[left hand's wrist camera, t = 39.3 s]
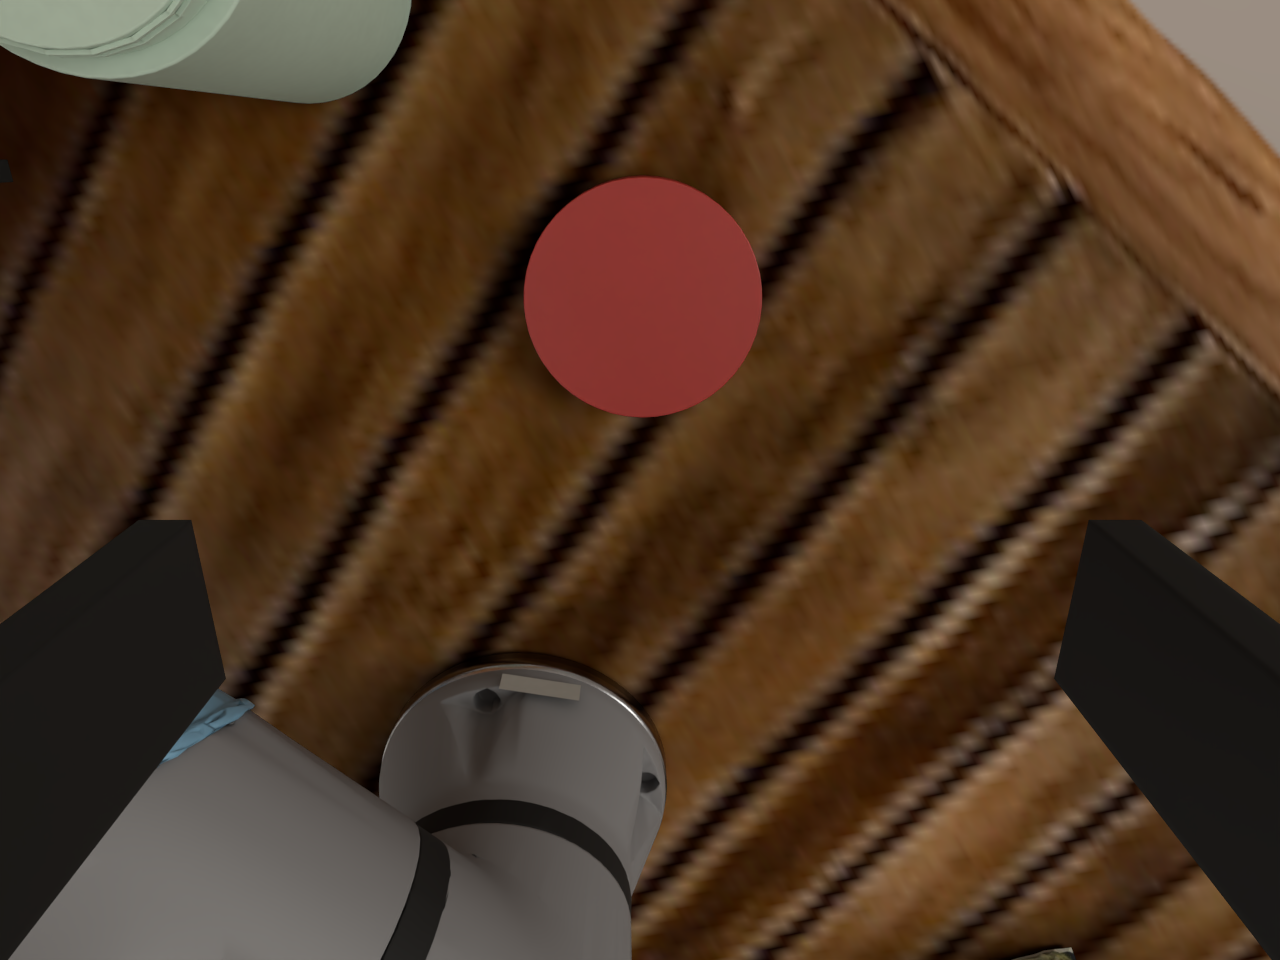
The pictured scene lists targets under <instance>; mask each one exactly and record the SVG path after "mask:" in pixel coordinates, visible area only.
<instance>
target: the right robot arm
mask: <svg viewBox="0 0 1280 960" xmlns="http://www.w3.org/2000/svg"><path fill="white" fill-rule="evenodd" d="M2 182H13V179H12V175H11V172H10V168H9V164H8V160H0V183H2Z"/></svg>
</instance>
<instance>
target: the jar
mask: <svg viewBox="0 0 1280 960" xmlns="http://www.w3.org/2000/svg"><path fill="white" fill-rule="evenodd" d="M410 8H411V0H0V45H1V46H2V47H4V48H6V49H7V50H9V51H10V52H12V53H14V54H16V55H18V56H20V57H22V58H24V59H26V60H29V61H31V62H33V63H35V64H37V65H40V66H43V67H46V68H49V69H52V70H55V71H57V72H60V73H64V74H69V75H74V76H79V77H84V78H91V79H99V80H108V81H116V82H125V83H133V84H142V85H150V86H159V87H167V88H175V89H184V90H192V91H201V92H209V93H218V94H226V95H235V96H243V97H252V98H260V99H269V100H277V101H286V102H295V103H322V102H328V101H332V100H337V99H340V98H342V97H345V96H347V95H350V94H352V93H354V92H356V91H357V90H359V89H361V88H363V87H364V86H366V85H367V84H368V83H369V82H371V81H372V80H373V79H374V78H375V77H377V75H378V74H379V73H380V72H381V71H382V70H383V69H384V68H385V67H386V65H387V64H388V63H389V61H390V60H391V58H392V57H393V55H394V54H395V52H396V50H397V48H398V46H399V44H400V42H401V40H402V37H403V35H404V32H405V29H406V26H407V22H408V18H409V13H410Z"/></svg>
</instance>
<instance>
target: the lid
mask: <svg viewBox="0 0 1280 960" xmlns="http://www.w3.org/2000/svg"><path fill="white" fill-rule="evenodd" d="M761 307H762V286H761V279H760V272H759V268H758V265H757V261H756V257H755V255H754V253H753V250H752V248H751V246H750V243H749V241H748V240H747V238H746V236H745V235H744V233H743V231H742V229H741V228H740V227H739V225H738V224H737V223H736V222H735V220H734V219H733V218H732V217H731V215H729V214H728V213H727V212H726V211H725V210H724V209H723V208H722V207H721V206H720V205H719V204H718V203H716V202H715V201H714V200H712V199H711V198H710V197H708V196H707V195H706V194H704V193H703V192H701V191H699V190H697V189H695V188H693V187H692V186H690V185H687V184H684V183H682V182H679V181H676V180H673V179H668V178H664V177H659V176H646V175H641V176H627V177H622V178H617V179H612V180H610V181H607V182H604V183H601V184H598V185H596V186H594V187H592V188H590V189H588V190H587V191H585V192H583V193H582V194H580V195H579V196H577V197H576V198H574V199H573V200H572V201H570V202H569V203H568V204H567V205H566V206H565V207H564V208H563V209H562V210H560V211H559V212H558V213H557V214H556V215H555V217H554V218H553V219H552V220H551V221H550V223H549V224H548V225H547V226H546V228H545V229H544V231H543V233H542V234H541V236H540V237H539V239H538V241H537V243H536V245H535V247H534V250H533V252H532V254H531V257H530V260H529V264H528V267H527V271H526V276H525V283H524V311H525V319H526V323H527V327H528V331H529V335H530V337H531V340H532V342H533V345H534V348H535V350H536V351H537V353H538V355H539V357H540V359H541V361H542V362H543V364H544V365H545V366H546V368H547V369H548V371H549V372H550V373H551V375H552V376H553V377H554V378H555V379H556V380H557V381H558V382H559V383H560V384H561V385H562V386H563V387H564V388H566V389H567V390H568V391H569V392H570V393H571V394H573V395H574V396H576V397H577V398H579V399H581V400H582V401H584V402H585V403H587V404H589V405H592V406H594V407H596V408H598V409H601V410H604V411H607V412H610V413H613V414H618V415H623V416H630V417H657V416H662V415H668V414H672V413H675V412H679V411H682V410H685V409H687V408H689V407H692V406H694V405H696V404H698V403H700V402H702V401H703V400H705V399H706V398H708V397H710V396H711V395H713V394H714V393H715V392H716V391H717V390H719V389H720V388H721V387H722V386H724V385H725V383H726V382H727V381H728V380H729V379H730V378H731V377H732V376H733V375H734V374H735V372H736V371H737V370H738V368H739V367H740V366H741V364H742V363H743V361H744V360H745V358H746V356H747V354H748V352H749V351H750V349H751V346H752V344H753V341H754V339H755V336H756V333H757V329H758V325H759V322H760V315H761Z"/></svg>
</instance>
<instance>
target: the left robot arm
mask: <svg viewBox="0 0 1280 960" xmlns="http://www.w3.org/2000/svg"><path fill="white" fill-rule="evenodd" d="M225 679H226V678H225V673H224V668H223V664H222V659H221V655H220V650H219V645H218V641H217V636H216V632H215V627H214V623H213V618H212V613H211V609H210V604H209V600H208V595H207V590H206V586H205V581H204V577H203V572H202V567H201V563H200V558H199V554H198V549H197V544H196V540H195V535H194V531H193V526H192V522H191V520H138V521H137V522H136V523H134V524H133V525H132V526H130V527H129V528H128V529H126V530H125V531H124V532H122V533H121V534H120V535H118V536H117V537H116V538H114V539H113V540H112V541H110V542H109V543H108V544H106V545H105V546H104V547H102V548H101V549H100V550H98V551H97V552H96V553H94V554H93V555H92V556H90V557H89V558H88V559H86V560H85V561H84V562H82V563H81V564H80V565H78V566H77V567H76V568H74V569H73V570H72V571H70V572H69V573H68V574H66V575H65V576H64V577H62V578H61V579H60V580H58V581H57V582H56V583H54V584H53V585H52V586H50V587H49V588H48V589H46V590H45V591H44V592H42V593H41V594H40V595H38V596H37V597H36V598H34V599H33V600H32V601H31V602H29V603H28V604H27V605H25V606H24V607H23V608H21V609H20V610H19V611H17V612H16V613H15V614H13V615H12V616H11V617H9V618H8V619H7V620H5V621H4V622H3V623H1V624H0V960H631V896H632V894H633V891H634V889H635V886H636V884H637V881H638V879H639V876H640V874H641V872H642V869H643V867H644V864H645V862H646V859H647V857H648V855H649V852H650V850H651V847H652V845H653V842H654V840H655V837H656V835H657V833H658V830H659V827H660V824H661V821H662V817H663V812H664V806H665V801H666V791H667V781H666V761H665V754H664V749H663V745H662V742H661V739H660V736H659V734H658V731H657V729H656V727H655V725H654V723H653V722H652V720H651V718H650V717H649V715H648V714H647V712H646V711H645V710H644V708H643V707H642V706H641V705H640V703H639V702H638V701H637V700H636V699H635V698H634V697H633V696H632V695H631V694H630V693H629V692H627V691H626V690H625V689H624V688H623V687H622V686H620V685H619V684H617V683H616V682H615V681H613V680H612V679H610V678H609V677H607V676H605V675H604V674H602V673H600V672H598V671H596V670H594V669H592V668H590V667H587V666H585V665H582V664H580V663H577V662H574V661H571V660H567V659H564V658H560V657H555V656H550V655H543V654H535V653H506V654H497V655H490V656H485V657H481V658H477V659H473V660H470V661H467V662H464V663H461V664H459V665H457V666H455V667H452V668H450V669H448V670H446V671H445V672H443V673H441V674H439V675H438V676H436V677H435V678H433V679H432V680H430V681H429V682H428V683H426V684H425V685H424V686H423V687H422V688H420V689H419V690H418V691H417V692H416V693H415V694H414V696H413V697H412V698H411V699H410V700H409V701H408V703H407V704H406V705H405V707H404V708H403V710H402V711H401V713H400V715H399V717H398V718H397V721H396V723H395V725H394V728H393V730H392V732H391V735H390V737H389V740H388V742H387V744H386V747H385V751H384V754H383V759H382V765H381V772H380V779H379V797H377V796H376V795H374V794H373V793H371V792H370V791H368V790H367V789H365V788H364V787H362V786H361V785H359V784H358V783H356V782H355V781H353V780H352V779H350V778H349V777H347V776H346V775H344V774H343V773H341V772H340V771H338V770H337V769H335V768H334V767H332V766H331V765H329V764H328V763H327V762H325V761H324V760H322V759H321V758H319V757H318V756H316V755H315V754H313V753H312V752H310V751H309V750H307V749H306V748H304V747H303V746H301V745H300V744H298V743H297V742H295V741H294V740H292V739H291V738H289V737H288V736H286V735H285V734H283V733H282V732H281V731H279V730H278V729H276V728H275V727H273V726H272V725H271V724H269V723H268V722H266V721H265V720H263V719H262V718H260V717H259V716H258V715H256V714H255V713H253V712H252V711H250V709H252V708H253V707H254V706H255V705H254V704H253V703H251V702H250V701H249V700H247V699H242V698H241V699H235V698H233V697H231V696H230V695H228V694H226V693H225V692H223V691H221V690H220V689H218V688H219V687H220V685H221V684H222V683H223V681H224V680H225ZM1054 679H1055V680H1056V681H1057V683H1058V684H1059V685H1060V687H1061V688H1062V689H1063V690H1064V692H1065V693H1066V694H1067V696H1068V697H1069V698H1070V700H1071V701H1072V702H1073V703H1074V705H1075V706H1076V707H1077V709H1078V710H1079V711H1080V712H1081V714H1082V715H1083V716H1084V718H1085V719H1086V720H1087V721H1088V723H1089V724H1090V725H1091V727H1092V728H1093V729H1094V731H1095V732H1096V733H1097V734H1098V736H1099V737H1100V738H1101V740H1102V741H1103V742H1104V743H1105V745H1106V746H1107V747H1108V749H1109V750H1110V751H1111V752H1112V754H1113V755H1114V756H1115V758H1116V759H1117V760H1118V762H1119V763H1120V764H1121V765H1122V767H1123V768H1124V769H1125V771H1126V772H1127V773H1128V774H1129V776H1130V777H1131V778H1132V780H1133V781H1134V782H1135V784H1136V785H1137V786H1138V787H1139V789H1140V790H1141V791H1142V793H1143V794H1144V795H1145V796H1146V798H1147V799H1148V800H1149V802H1150V803H1151V804H1152V805H1153V807H1154V808H1155V809H1156V811H1157V812H1158V813H1159V815H1160V816H1161V817H1162V818H1163V820H1164V821H1165V822H1166V824H1167V825H1168V826H1169V827H1170V829H1171V830H1172V831H1173V833H1174V834H1175V835H1176V836H1177V838H1178V839H1179V840H1180V842H1181V843H1182V844H1183V846H1184V847H1185V848H1186V849H1187V851H1188V852H1189V853H1190V855H1191V856H1192V857H1193V858H1194V860H1195V861H1196V862H1197V864H1198V865H1199V866H1200V868H1201V869H1202V870H1203V871H1204V873H1205V874H1206V875H1207V877H1208V878H1209V879H1210V880H1211V882H1212V883H1213V884H1214V886H1215V887H1216V888H1217V889H1218V891H1219V892H1220V893H1221V895H1222V896H1223V897H1224V899H1225V900H1226V901H1227V902H1228V904H1229V905H1230V906H1231V908H1232V909H1233V910H1234V911H1235V913H1236V914H1237V915H1238V917H1239V918H1240V919H1241V920H1242V922H1243V923H1244V924H1245V926H1246V927H1247V928H1248V930H1249V931H1250V932H1251V933H1252V935H1253V936H1254V937H1255V939H1256V940H1257V941H1258V942H1259V944H1260V945H1261V946H1262V948H1263V949H1264V950H1265V952H1266V953H1267V954H1268V955H1269V957H1270V958H1271V959H1272V960H1280V624H1279V623H1277V622H1276V621H1275V620H1273V619H1272V618H1271V617H1269V616H1268V615H1267V614H1265V613H1264V612H1263V611H1261V610H1260V609H1259V608H1257V607H1256V606H1255V605H1253V604H1252V603H1251V602H1249V601H1248V600H1247V599H1246V598H1244V597H1243V596H1242V595H1240V594H1239V593H1238V592H1236V591H1235V590H1234V589H1232V588H1231V587H1230V586H1228V585H1227V584H1226V583H1224V582H1223V581H1222V580H1220V579H1219V578H1218V577H1216V576H1215V575H1214V574H1212V573H1211V572H1210V571H1208V570H1207V569H1206V568H1204V567H1203V566H1202V565H1200V564H1199V563H1198V562H1196V561H1195V560H1194V559H1192V558H1191V557H1190V556H1188V555H1187V554H1186V553H1184V552H1183V551H1182V550H1180V549H1179V548H1178V547H1176V546H1175V545H1174V544H1172V543H1171V542H1170V541H1168V540H1167V539H1166V538H1164V537H1163V536H1162V535H1160V534H1159V533H1158V532H1156V531H1155V530H1154V529H1152V528H1151V527H1150V526H1148V525H1147V524H1146V523H1144V522H1143V521H1142V520H1089V522H1088V526H1087V531H1086V535H1085V540H1084V544H1083V549H1082V554H1081V558H1080V563H1079V567H1078V572H1077V577H1076V581H1075V586H1074V590H1073V595H1072V600H1071V604H1070V609H1069V613H1068V618H1067V623H1066V627H1065V632H1064V636H1063V641H1062V645H1061V650H1060V655H1059V659H1058V664H1057V668H1056V673H1055V678H1054Z"/></svg>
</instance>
